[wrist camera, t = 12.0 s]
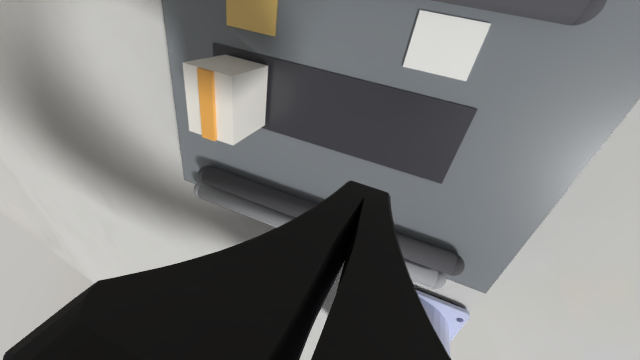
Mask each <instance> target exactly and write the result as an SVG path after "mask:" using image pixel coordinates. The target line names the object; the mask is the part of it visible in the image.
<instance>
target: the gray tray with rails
mask: <svg viewBox="0 0 640 360" xmlns="http://www.w3.org/2000/svg"><path fill="white" fill-rule="evenodd" d="M432 1H438V2H443V3H449V4H454V5H460V6H465V7H471V8H476V9H482V10H487V11H493V12H498V13H504V14H509V15H515V16H520V17H525V18H531V19H536V20H542V21H547V22H553V23H558V24H564V25H571V26H574V25H580V24H583V23H586V22H588V21H590V20H591V19H593V18H594V17H596V16H597V15H598V14H599V13H600V12H601V11H602V9H603V8H604V6H605V4H606V2H607V0H432ZM198 178H199V180H200V182H198V183H197V184H196V185H195V187H194V193H195V195H196V196H197V197H199V198H201V199H204V200H206V201H209V202H211V203H214V204H216V205H219V206H222V207H224V208H227V209H229V210H232V211H234V212H237V213H240V214H242V215H245V216H247V217H250V218H253V219H255V220H258V221H260V222H263V223H265V224H268V225H271V226H273V227H276V228H277V227H279V226H281V225H283V224H285V223H287V222H289V221H291V220H292V219H294V218H296V217H298V216H299V215H301V214H303V213H304V212H306V211H308V210H310V209H311V208H313V207H314V206H316V205H317V204H316V203H313V202H310V201H307V200H305V199H302V198H299V197H296V196H293V195H291V194H288V193H285V192H282V191H279V190H277V189H274V188H271V187H268V186H265V185H263V184H260V183H257V182H254V181H251V180H249V179H246V178H243V177H240V176H237V175H235V174H232V173H229V172H226V171H223V170H221V169H218V168H215V167H212V166H203V167H201V168H200V169H199V171H198ZM396 234H397V238H398V242H399V245H400V249H401V252H402V255H403V258H404V261H405V264H406V267H407V269H408V272H409V275H410V277H411V280H412V281H415V282H418V283H420V284H423V285H425V286H428V287H430V288H434V289H438V288H441V287H442V286H443V285H444V284H445V282H446V276H445V274H448V275H451V276H457V275H460V274H461V273H462V272H463V271H464V268H465V263H464V260H463V259H462V257H461V256H459V255H458V254H456V253H453V252H450V251H448V250H445V249H442V248H439V247H436V246H434V245H431V244H428V243H425V242H422V241H420V240H417V239H414V238H411V237H408V236H405V235H403V234H400V233H397V232H396Z"/></svg>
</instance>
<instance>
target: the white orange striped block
mask: <svg viewBox="0 0 640 360" xmlns="http://www.w3.org/2000/svg"><path fill="white" fill-rule="evenodd" d="M182 64H183V74H184V84H185V93H186V103H187V113H188V123H189V131H191V132H194V133H197V134H200V135H202V137H203V138H206V139H209V140H212V141H217V140H218V141H221V142H224V143H227V144H230V145H235V144H236V143H238V142H239V141H241V140H243V139H244V138H246V137H247V136H249V135H250V134H252V133H254V132H255V131H257V130H258V129H260V128H261V127H263V126H265V114H266V96H267V79H268V66H267V65H264V64H260V63H256V62H252V61H248V60H244V59H240V58H237V57H233V56H229V55H220V56H215V57H209V58H204V59H199V60H193V61H188V62H182Z"/></svg>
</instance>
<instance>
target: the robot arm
mask: <svg viewBox="0 0 640 360" xmlns="http://www.w3.org/2000/svg"><path fill="white" fill-rule="evenodd" d="M390 198H391V197H390V195H389V193H388V192H385V191H382V190H379V189H376V188H373V187H370V186H367V185H364V184H361V183H358V182H354V181H348V182H346V183H345V184H344V185H343V186H342V187H341V188H339V189H338V190H337V191H336V192H334V193H333V194H332V195H330V196H329V197H327V198H326V199H325V200H323V201H322V202H320V203H319V204H317V205H316V206H314V207H313V208H311V209H310V210H308V211H306V212H304V213H303V214H301V215H299V216H298V217H296V218H294V219H292V220H291V221H289V222H287V223H285V224H283V225H281V226H279V227H277V228H275V229H273V230H271V231H269V232H267V233H264V234H262V235H260V236H258V237H255V238H253V239H250V240H248V241H245V242H243V243H240V244H238V245H235V246H232V247H229V248H227V249H224V250H221V251H218V252H215V253H211V254H208V255H205V256H201V257H198V258H195V259H191V260H188V261H184V262H181V263H177V264H173V265H169V266H165V267H161V268H157V269H152V270H147V271H143V272H138V273H134V274H129V275H124V276H120V277H115V278H110V279H105V280H100V281H98V282H96V283H95V284H93V285H92V286H91V287H89V288H88V289H87V290H85V291H84V292H83V293H81V294H80V295H78V296H77V297H76V298H74V299H73V300H72V301H71V302H69V303H68V304H67V305H65V306H64V307H63V308H62V309H60V310H59V311H58V312H57V313H55V314H54V315H53V316H51V317H50V318H49V319H48V320H46V321H45V322H44V323H43V324H41V325H40V326H39V327H37V328H36V329H35V330H34V331H32V332H31V333H30V334H29V335H27V336H26V337H25V338H23V339H22V340H21V341H20V342H18V343H17V344H16V345H15V346H13V347H12V348H11V349H9V350H8V351H7V352H6V353H5V355H4V357H3V360H299V359H300V356H301V354H302V351H303V348H304V346H305V343H306V341H307V338H308V336H309V333H310V331H311V328H312V326H313V324H314V322H315V319H316V317H317V315H318V313H319V311H320V309H321V307H322V305H323V303H324V301H325V299H326V297H327V295H328V293H329V291H330V289H331V287H332V285H333V283H334V281H335V279H336V277H337V275H338V273H339V271H340V269H341V267H342V265H343V263H344V266H343V270H342V274H341V277H340V281H339V285H338V289H337V293H336V296H335V299H334V302H333V304H332V307H331V309H330V312H329V315H328V317H327V320H326V322H325V325H324V328H323V330H322V333H321V336H320V338H319V341H318V343H317V346H316V349H315V351H314V354H313V356H312V359H311V360H451V358H450V342H451V340H452V339H453V338H454V337H455V335H456V334H457V333H458V332H459V330H460V329H461V328H462V327H463V325H464V324H465V323H466V322H467V320H468V319H469V317H470V316H469V312H468V311H467V310H466V309H464V308H461V307H459V306H456V305H453V304H451V303H448V302H446V301H443V300H441V299H438V298H436V297H433V296H431V295H428V294H426V293H423V292H420V291H418V290H415V287H414V285H413V282H412V280H411V277H410V275H409V272H408V269H407V267H406V264H405V261H404V258H403V255H402V252H401V249H400V245H399V242H398V238H397V234H396V230H395V226H394V222H393V216H392V210H391V200H390ZM344 261H345V262H344Z"/></svg>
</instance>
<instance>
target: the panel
mask: <svg viewBox="0 0 640 360" xmlns="http://www.w3.org/2000/svg"><path fill="white" fill-rule="evenodd" d="M162 6H163V14H164V22H165V30H166V38H167V46H168V54H169V62H170V70H171V78H172V86H173V94H174V102H175V110H176V118H177V126H178V134H179V142H180V150H181V158H182V166H183V174H184V180H186V181H189V182H191V183H194V184H197V183H198V182H200V180H199V178H198V171H199V169H200V168H201V167H203V166H212V167H215V168H218V169H221V170H223V171H226V172H229V173H232V174H235V175H237V176H240V177H243V178H246V179H249V180H251V181H254V182H257V183H260V184H263V185H265V186H268V187H271V188H274V189H277V190H279V191H282V192H285V193H288V194H291V195H293V196H296V197H299V198H302V199H305V200H307V201H310V202H313V203H316V204H319V203H320V202H322V201H323V200H325V199H326V198H327V197H329V196H330V195H332V194H333V193H334V192H336V191H337V190H338V189H339V188H341V187H342V186H343V185H344V184H345V183H346V182H348V181H354V182H358V183H361V184H364V185H367V186H370V187H373V188H376V189H379V190H382V191H385V192H388V193H389V195H390V197H391V198H390V200H391V210H392V216H393V222H394V226H395V230H396V232H397V233H400V234H403V235H405V236H408V237H411V238H414V239H417V240H420V241H422V242H425V243H428V244H431V245H434V246H436V247H439V248H442V249H445V250H448V251H450V252H453V253H456V254H458V255H459V256H461V257H462V259H463V260H464V263H465V268H464V271H463V272H462V273H461V274H460V275H457V276H451V275H448V274H445V276H446V279H448V280H451V281H454V282H456V283H459V284H462V285H464V286H467V287H470V288H472V289H475V290H478V291H480V292H483V293H486V292H487V291H488V290H489V289H490V287H491V286H492V285H493V284H494V282H495V281H496V280H497V279H498V277H499V276H500V275H501V274H502V272H503V271H504V270H505V268H506V267H507V266H508V265H509V263H510V262H511V261H512V260H513V258H514V257H515V256H516V255H517V253H518V252H519V251H520V249H521V248H522V247H523V246H524V244H525V243H526V242H527V241H528V239H529V238H530V237H531V236H532V234H533V233H534V232H535V230H536V229H537V228H538V227H539V225H540V224H541V223H542V222H543V220H544V219H545V218H546V217H547V215H548V214H549V213H550V212H551V210H552V209H553V208H554V206H555V205H556V204H557V203H558V201H559V200H560V199H561V198H562V196H563V195H564V194H565V193H566V191H567V190H568V189H569V187H570V186H571V185H572V184H573V182H574V181H575V180H576V179H577V177H578V176H579V175H580V174H581V172H582V171H583V170H584V168H585V167H586V166H587V165H588V163H589V162H590V161H591V160H592V158H593V157H594V156H595V155H596V153H597V152H598V151H599V150H600V148H601V147H602V146H603V144H604V143H605V142H606V141H607V139H608V138H609V137H610V136H611V134H612V133H613V132H614V131H615V129H616V128H617V127H618V125H619V124H620V123H621V122H622V120H623V119H624V118H625V117H626V115H627V114H628V113H629V112H630V110H631V109H632V108H633V106H634V105H635V104H636V103H637V101H638V100H639V99H640V0H607V2H606V4H605V6H604V8H603V9H602V11H601V12H600V13H599V14H598V15H597V16H596V17H594V18H593V19H591V20H590V21H588V22H586V23H583V24H580V25H574V26H571V25H564V24H558V23H553V22H547V21H542V20H536V19H531V18H525V17H520V16H515V15H509V14H504V13H498V12H493V11H487V10H482V9H476V8H471V7H465V6H460V5H454V4H449V3H443V2H438V1H432V0H162ZM220 55H229V56H233V57H237V58H240V59H244V60H248V61H252V62H256V63H260V64H264V65H267V66H268V79H267V96H266V114H265V126H263V127H261V128H260V129H258V130H257V131H255V132H254V133H252V134H250V135H249V136H247V137H246V138H244V139H243V140H241V141H239V142H238V143H236V144H235V145H230V144H227V143H224V142H221V141H218V140H217V141H212V140H209V139H206V138H203V137H202V135H200V134H197V133H194V132H191V131H189V123H188V113H187V103H186V93H185V84H184V74H183V64H182V62H188V61H193V60H199V59H204V58H209V57H215V56H220Z"/></svg>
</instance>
